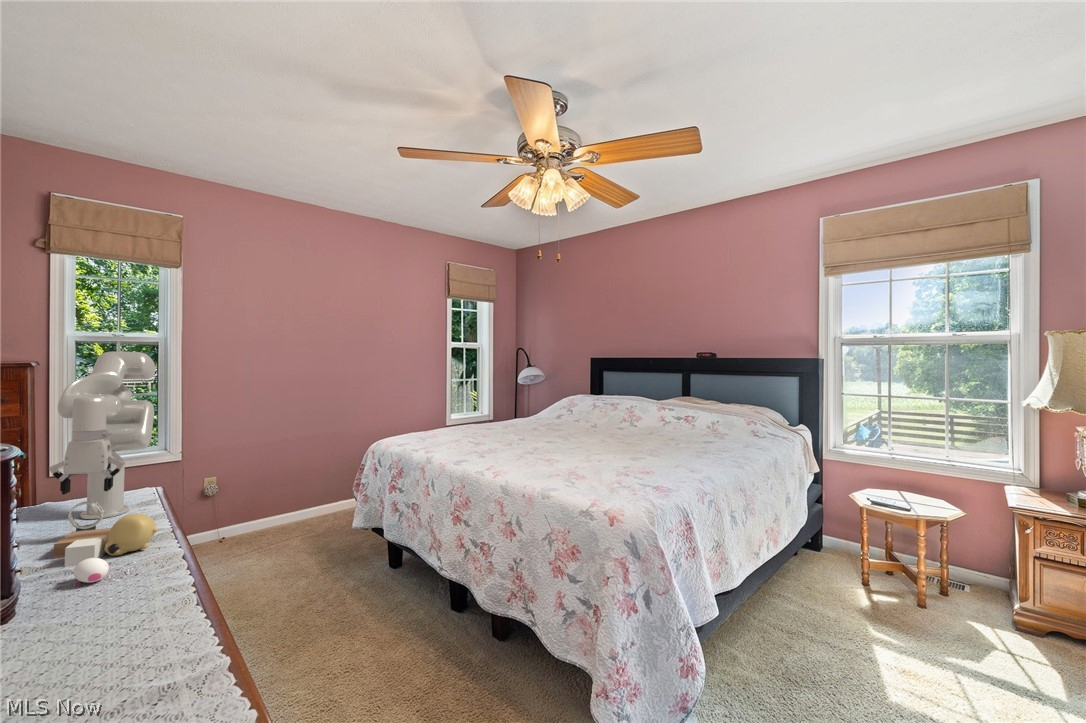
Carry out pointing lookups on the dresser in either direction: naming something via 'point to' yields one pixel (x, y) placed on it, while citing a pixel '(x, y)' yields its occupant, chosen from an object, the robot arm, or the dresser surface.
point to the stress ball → (91, 570)
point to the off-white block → (84, 550)
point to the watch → (97, 511)
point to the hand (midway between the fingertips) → (87, 491)
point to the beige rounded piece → (130, 534)
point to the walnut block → (78, 535)
